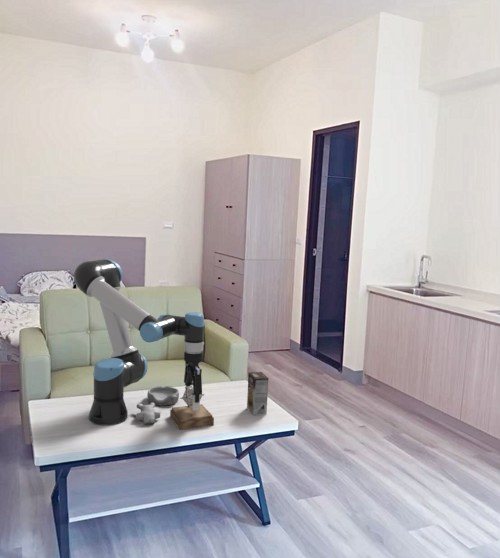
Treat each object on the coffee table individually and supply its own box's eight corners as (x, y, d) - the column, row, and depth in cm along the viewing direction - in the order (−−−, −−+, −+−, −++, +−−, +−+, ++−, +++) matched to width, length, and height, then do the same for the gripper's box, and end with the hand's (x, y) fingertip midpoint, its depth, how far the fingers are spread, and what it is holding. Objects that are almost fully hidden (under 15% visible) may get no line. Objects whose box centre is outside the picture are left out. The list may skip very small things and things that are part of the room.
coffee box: (246, 407, 236) (247, 372, 234) (260, 406, 238) (261, 371, 236) (252, 415, 228) (254, 378, 226) (267, 414, 230) (268, 377, 228)
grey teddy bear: (137, 416, 211) (134, 399, 225) (137, 428, 212) (134, 410, 226) (162, 415, 214) (157, 397, 228) (161, 426, 215) (156, 409, 229)
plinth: (179, 429, 210) (180, 419, 209) (170, 416, 223) (170, 407, 222) (213, 425, 216) (214, 415, 215) (202, 412, 228) (202, 403, 228)
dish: (180, 406, 235) (180, 395, 235) (148, 407, 232) (148, 396, 231) (176, 394, 249) (177, 384, 249) (146, 396, 246) (146, 385, 245)
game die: (187, 415, 218) (172, 396, 217) (198, 402, 224) (184, 383, 223) (201, 410, 212) (186, 390, 211) (211, 397, 219) (197, 377, 218)
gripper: (211, 357, 207) (210, 414, 210) (194, 344, 227) (192, 395, 230) (193, 359, 204) (191, 416, 207) (176, 345, 224) (175, 397, 227)
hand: (192, 405), depth 218 cm, fingers closed on game die, 9 cm apart
